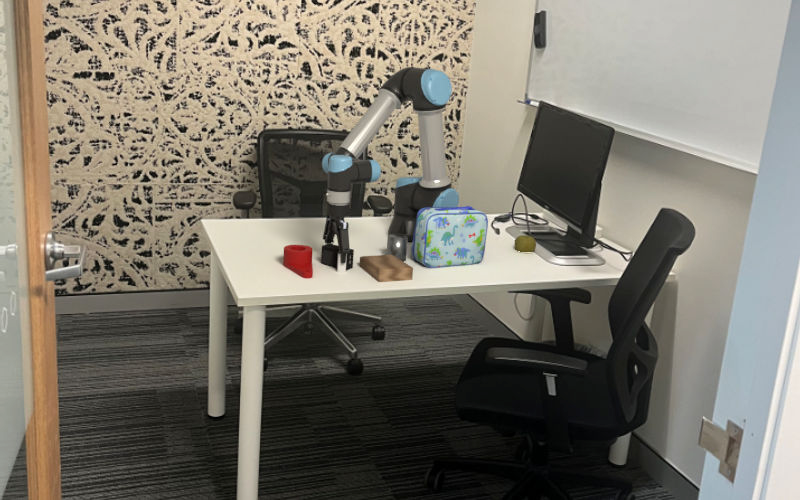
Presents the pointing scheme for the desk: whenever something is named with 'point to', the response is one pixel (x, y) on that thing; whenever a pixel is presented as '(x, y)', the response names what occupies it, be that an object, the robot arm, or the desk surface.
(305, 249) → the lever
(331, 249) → the digital camera
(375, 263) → the walnut riser
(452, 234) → the lunch box
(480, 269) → the desk surface
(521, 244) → the olive rounded block
